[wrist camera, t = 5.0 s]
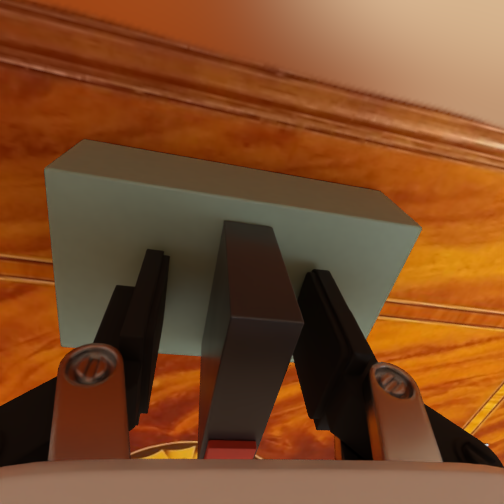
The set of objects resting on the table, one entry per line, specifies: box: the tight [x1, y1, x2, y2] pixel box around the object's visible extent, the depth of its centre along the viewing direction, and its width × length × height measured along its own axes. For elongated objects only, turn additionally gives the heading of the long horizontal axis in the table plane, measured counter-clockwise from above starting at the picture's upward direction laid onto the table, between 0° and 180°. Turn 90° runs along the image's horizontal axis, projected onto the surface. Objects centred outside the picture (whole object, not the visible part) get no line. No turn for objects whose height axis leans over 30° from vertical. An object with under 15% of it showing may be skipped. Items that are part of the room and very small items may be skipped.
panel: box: [44, 139, 422, 362], centre depth 14 cm, size 12×7×4 cm, turn 78°
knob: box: [197, 220, 304, 459], centre depth 10 cm, size 6×2×5 cm, turn 168°
